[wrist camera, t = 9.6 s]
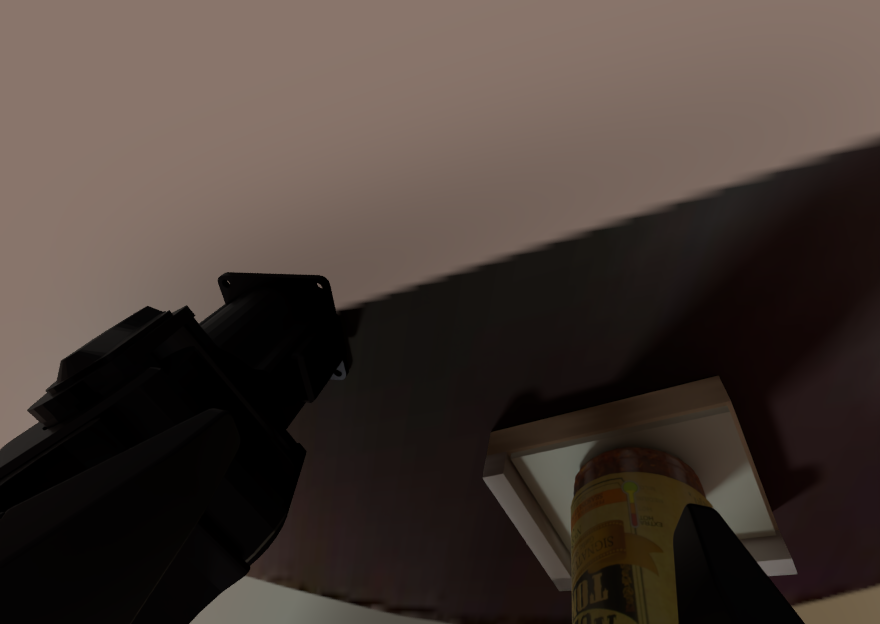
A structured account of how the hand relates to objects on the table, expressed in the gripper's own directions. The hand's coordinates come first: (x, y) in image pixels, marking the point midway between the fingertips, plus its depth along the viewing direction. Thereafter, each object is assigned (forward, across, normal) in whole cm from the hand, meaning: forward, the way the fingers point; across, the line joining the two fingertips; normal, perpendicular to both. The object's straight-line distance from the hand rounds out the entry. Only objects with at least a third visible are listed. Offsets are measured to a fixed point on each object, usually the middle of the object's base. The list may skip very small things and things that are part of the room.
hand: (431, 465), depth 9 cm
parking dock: (+13, -7, +14) cm, 20 cm away
